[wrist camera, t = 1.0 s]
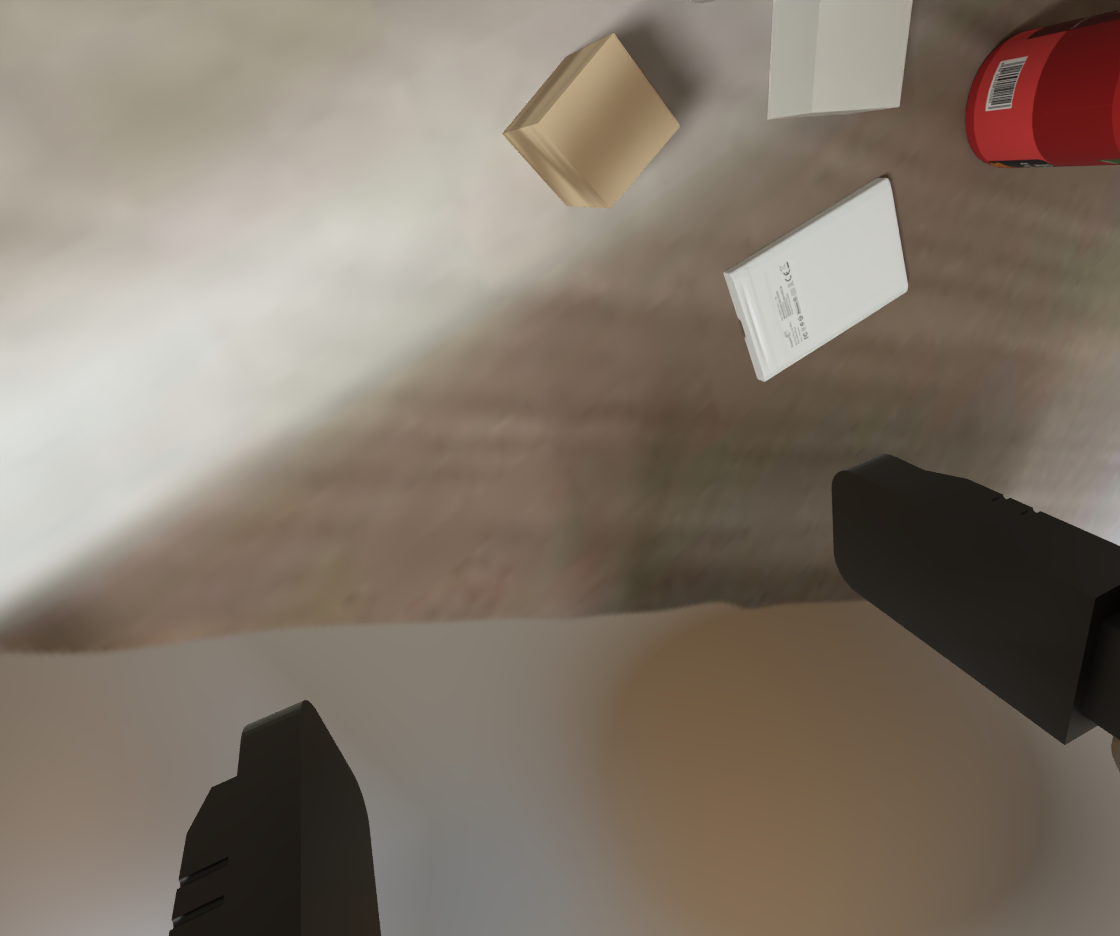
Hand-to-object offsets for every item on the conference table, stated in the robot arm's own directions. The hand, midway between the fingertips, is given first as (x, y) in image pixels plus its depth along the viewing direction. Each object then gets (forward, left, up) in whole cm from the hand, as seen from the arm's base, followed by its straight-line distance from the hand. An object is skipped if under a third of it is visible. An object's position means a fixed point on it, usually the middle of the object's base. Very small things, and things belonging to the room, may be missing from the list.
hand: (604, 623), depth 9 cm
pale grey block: (-5, +28, -30) cm, 41 cm away
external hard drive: (+8, +27, -30) cm, 41 cm away
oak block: (-5, +12, -30) cm, 32 cm away
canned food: (+1, +43, -30) cm, 52 cm away
